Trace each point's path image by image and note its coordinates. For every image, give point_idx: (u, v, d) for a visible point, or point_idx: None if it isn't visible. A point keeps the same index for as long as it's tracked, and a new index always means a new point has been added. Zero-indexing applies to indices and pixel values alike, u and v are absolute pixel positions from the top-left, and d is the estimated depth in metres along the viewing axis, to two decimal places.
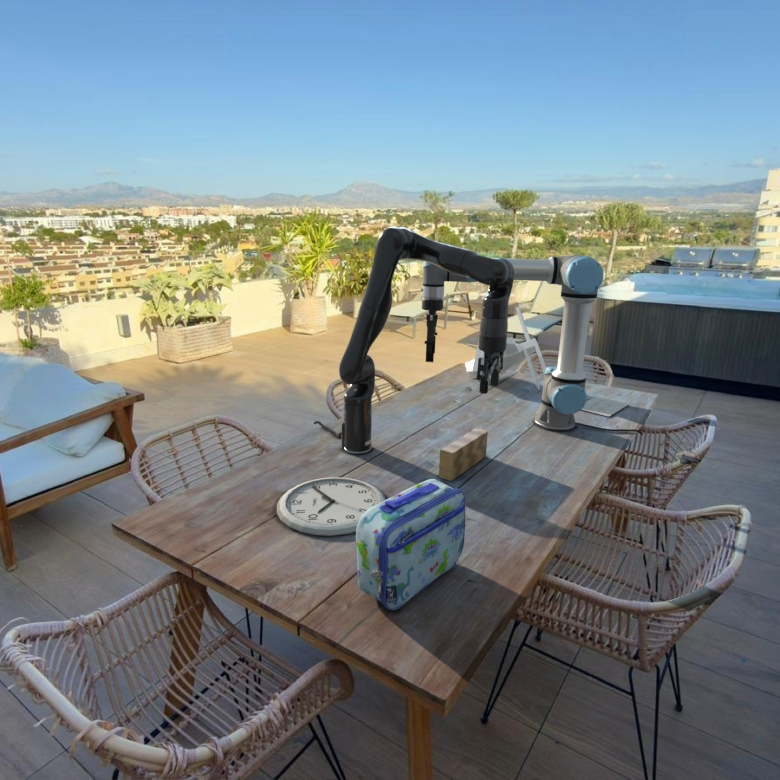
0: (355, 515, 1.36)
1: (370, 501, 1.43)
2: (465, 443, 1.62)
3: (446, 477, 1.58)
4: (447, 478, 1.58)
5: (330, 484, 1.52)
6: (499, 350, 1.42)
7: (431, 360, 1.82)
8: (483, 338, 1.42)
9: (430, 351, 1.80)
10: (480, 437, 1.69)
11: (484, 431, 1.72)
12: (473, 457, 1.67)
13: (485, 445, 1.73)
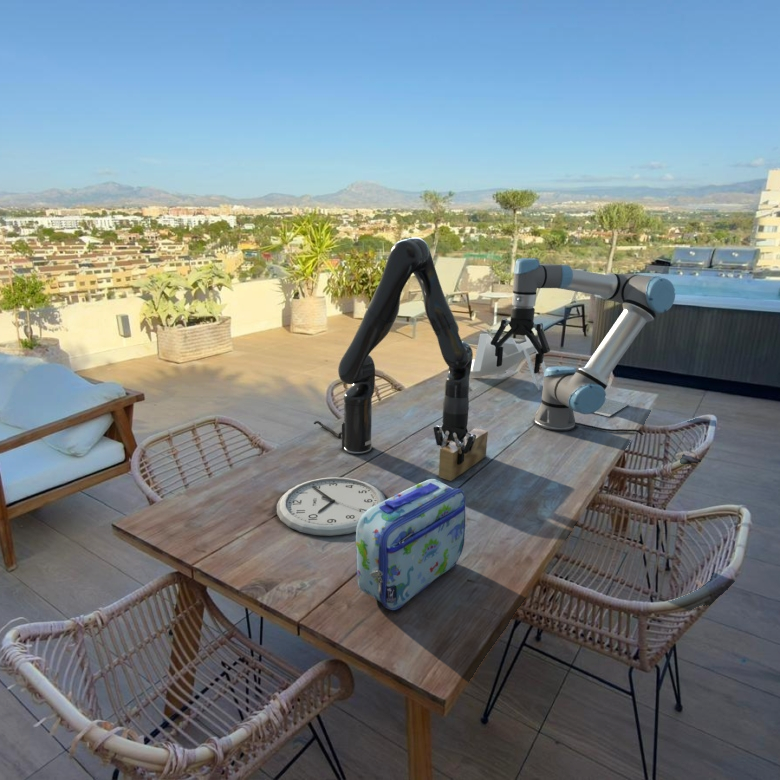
0: (355, 515, 1.36)
1: (370, 501, 1.43)
2: (465, 443, 1.62)
3: (446, 477, 1.58)
4: (447, 478, 1.58)
5: (330, 484, 1.52)
6: None
7: (538, 370, 1.74)
8: (463, 416, 1.53)
9: (542, 361, 1.72)
10: (480, 437, 1.69)
11: (484, 431, 1.72)
12: (473, 457, 1.67)
13: (485, 445, 1.73)
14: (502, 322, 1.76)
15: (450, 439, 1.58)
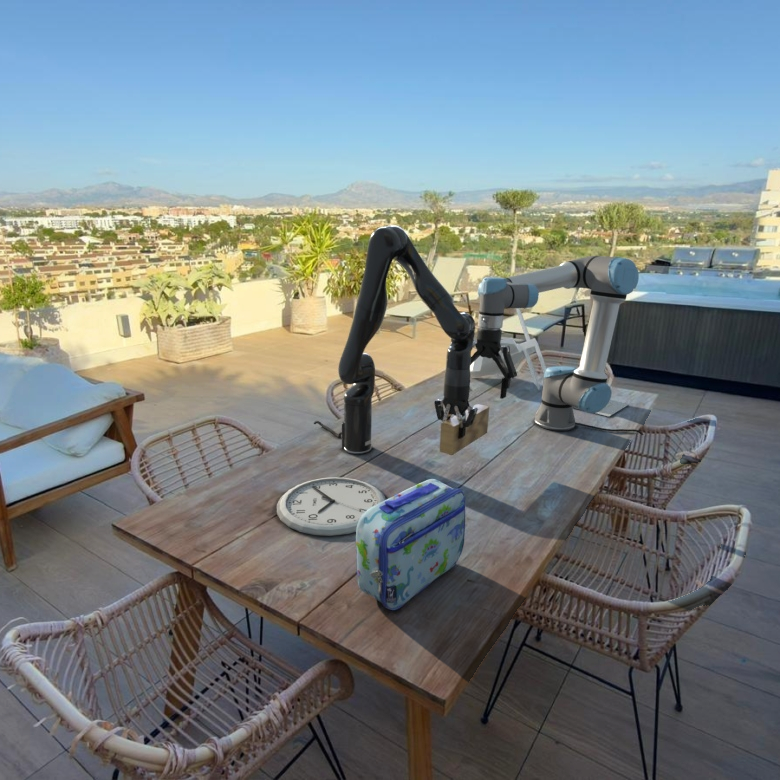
0: (355, 515, 1.36)
1: (370, 501, 1.43)
2: (467, 417, 1.60)
3: (447, 451, 1.56)
4: (448, 452, 1.56)
5: (330, 484, 1.52)
6: None
7: (505, 395, 1.65)
8: (464, 388, 1.50)
9: (509, 386, 1.63)
10: (482, 412, 1.66)
11: (485, 407, 1.70)
12: (475, 432, 1.65)
13: (486, 421, 1.71)
14: None
15: (452, 413, 1.56)
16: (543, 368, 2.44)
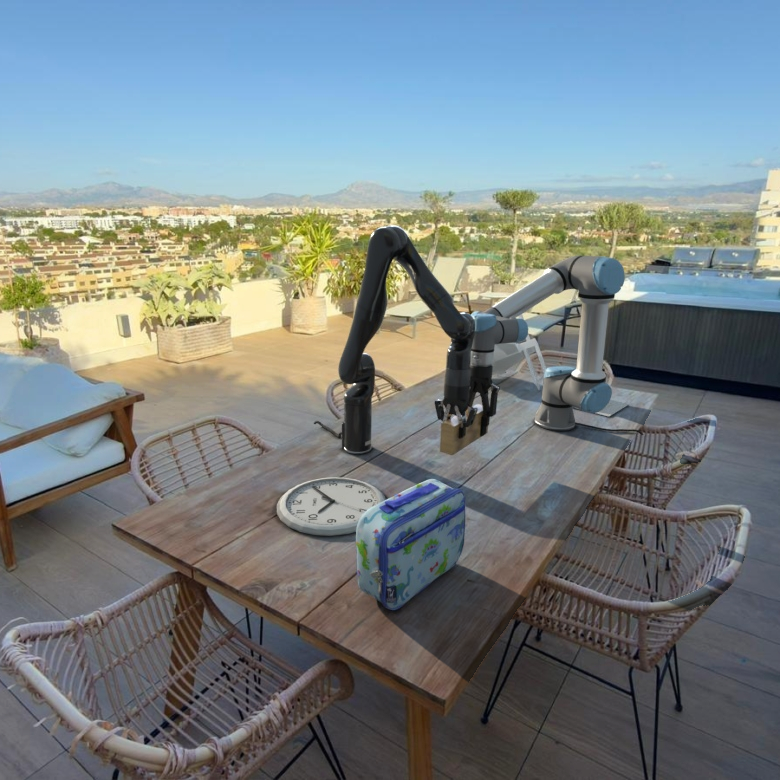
0: (355, 515, 1.36)
1: (370, 501, 1.43)
2: (467, 417, 1.60)
3: (447, 451, 1.56)
4: (448, 452, 1.56)
5: (330, 484, 1.52)
6: None
7: (485, 432, 1.69)
8: (464, 388, 1.50)
9: (488, 424, 1.67)
10: (482, 412, 1.66)
11: None
12: (475, 432, 1.65)
13: None
14: None
15: (452, 413, 1.56)
16: (543, 368, 2.44)
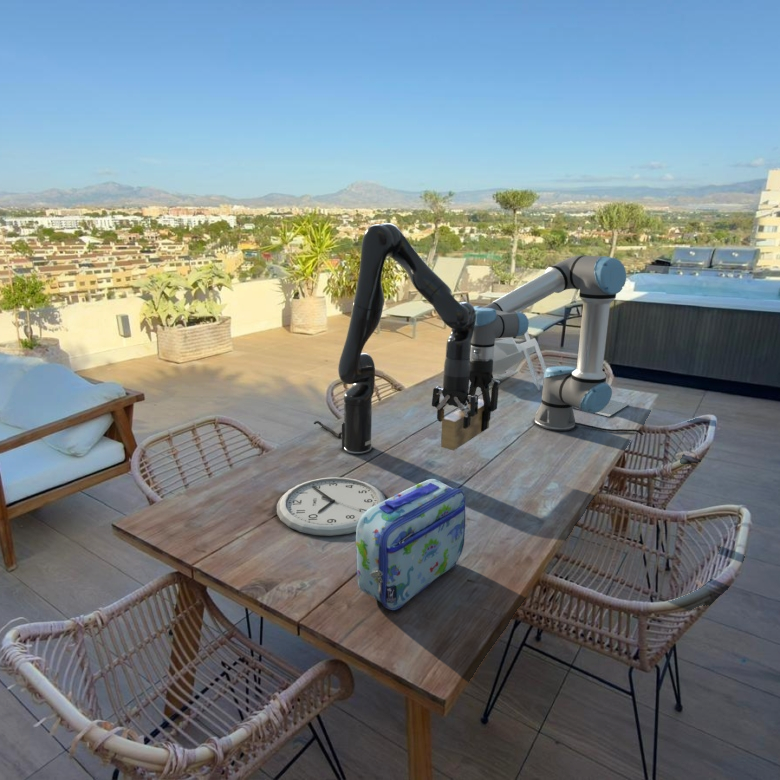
0: (355, 515, 1.36)
1: (370, 501, 1.43)
2: None
3: (448, 447, 1.55)
4: (449, 448, 1.55)
5: (330, 484, 1.52)
6: None
7: (486, 427, 1.69)
8: (464, 379, 1.49)
9: (489, 418, 1.67)
10: (483, 407, 1.66)
11: None
12: (476, 427, 1.65)
13: None
14: None
15: (451, 404, 1.54)
16: (543, 368, 2.44)
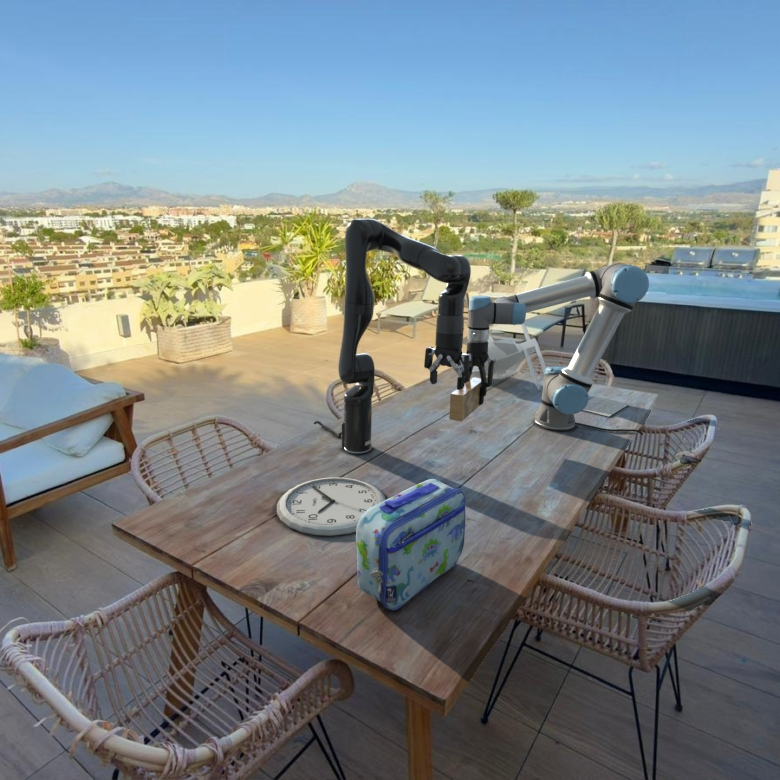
0: (355, 515, 1.36)
1: (370, 501, 1.43)
2: (470, 388, 1.81)
3: (457, 418, 1.76)
4: (458, 419, 1.76)
5: (330, 484, 1.52)
6: None
7: (482, 402, 1.91)
8: (457, 336, 1.41)
9: (485, 393, 1.89)
10: (480, 383, 1.88)
11: None
12: (476, 401, 1.86)
13: None
14: None
15: (444, 364, 1.46)
16: (543, 368, 2.44)
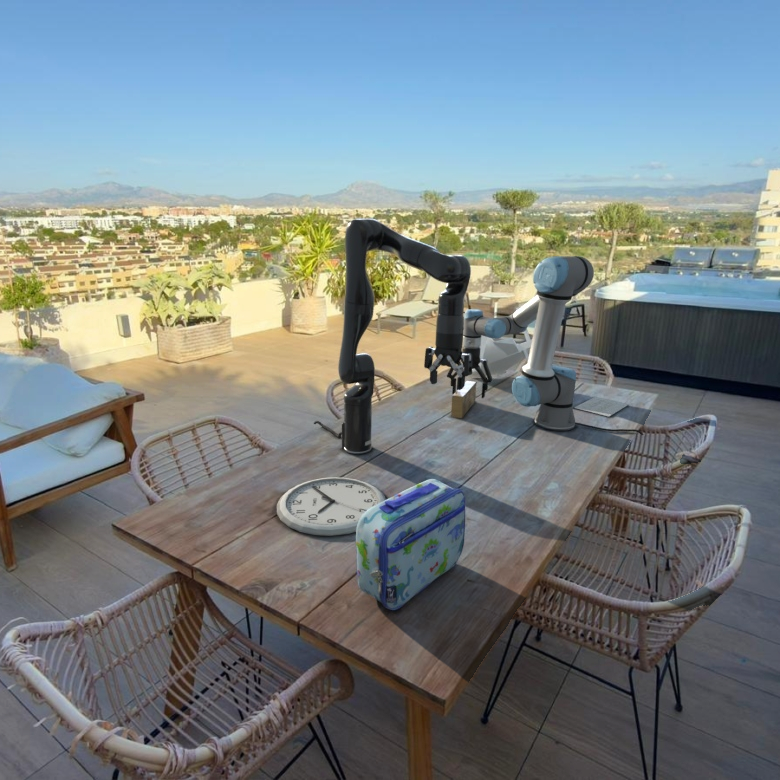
0: (355, 515, 1.36)
1: (370, 501, 1.43)
2: (466, 390, 2.15)
3: (457, 416, 2.10)
4: (458, 416, 2.10)
5: (330, 484, 1.52)
6: None
7: (484, 395, 2.24)
8: (457, 336, 1.41)
9: (487, 388, 2.22)
10: (473, 386, 2.23)
11: (474, 382, 2.26)
12: (470, 401, 2.21)
13: (475, 393, 2.28)
14: None
15: (444, 364, 1.46)
16: None
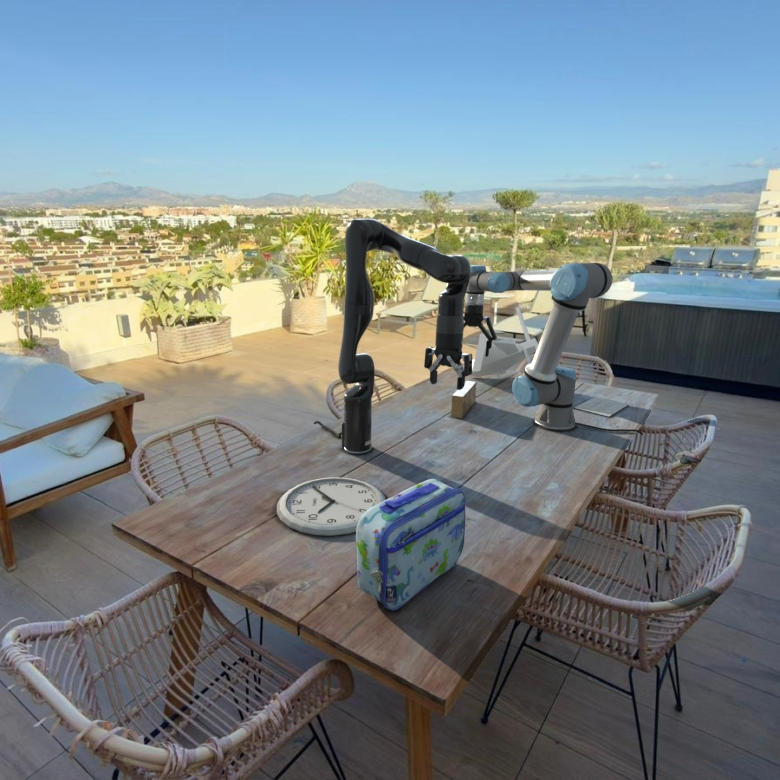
0: (355, 515, 1.36)
1: (370, 501, 1.43)
2: (466, 390, 2.15)
3: (457, 416, 2.10)
4: (458, 416, 2.10)
5: (330, 484, 1.52)
6: None
7: (488, 354, 2.18)
8: (457, 336, 1.41)
9: (491, 346, 2.16)
10: (473, 386, 2.23)
11: (474, 382, 2.26)
12: (470, 401, 2.21)
13: (475, 393, 2.28)
14: None
15: (444, 364, 1.46)
16: None
